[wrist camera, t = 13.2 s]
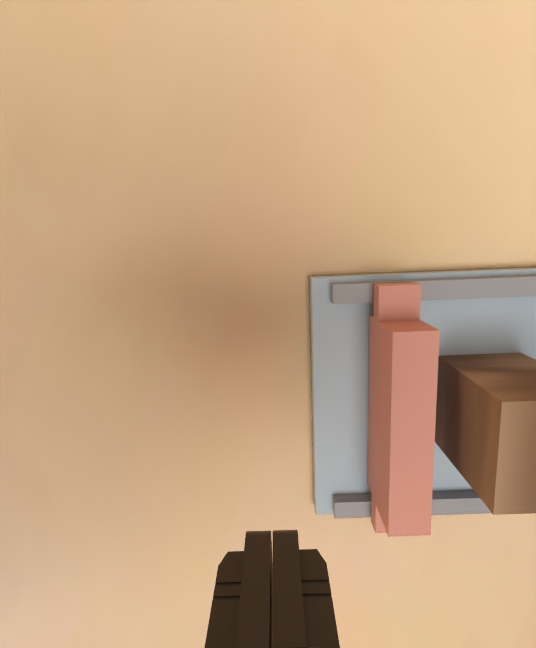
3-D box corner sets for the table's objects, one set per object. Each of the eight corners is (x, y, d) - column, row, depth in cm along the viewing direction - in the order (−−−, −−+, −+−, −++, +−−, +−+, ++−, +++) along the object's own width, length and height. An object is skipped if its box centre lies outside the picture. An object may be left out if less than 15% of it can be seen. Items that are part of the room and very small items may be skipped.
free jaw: (367, 510, 25) (387, 567, 20) (369, 281, 22) (393, 292, 18) (401, 509, 25) (429, 565, 20) (408, 280, 22) (441, 290, 18)
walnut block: (433, 440, 24) (493, 514, 18) (437, 355, 23) (502, 401, 17) (513, 437, 24) (601, 510, 18) (520, 352, 23) (617, 397, 16)
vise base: (314, 504, 26) (325, 574, 20) (309, 276, 23) (322, 288, 18) (575, 495, 26) (657, 563, 20) (604, 264, 23) (707, 273, 17)
